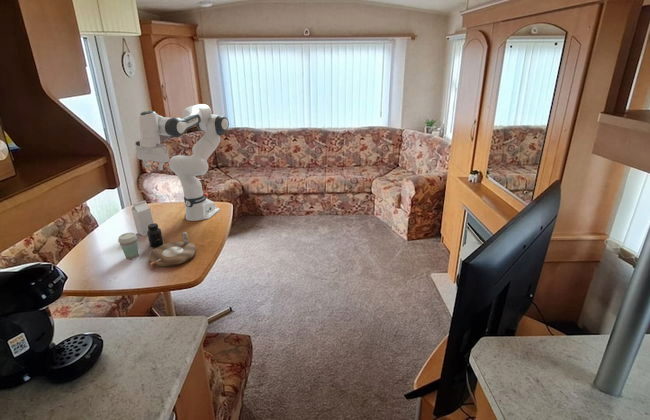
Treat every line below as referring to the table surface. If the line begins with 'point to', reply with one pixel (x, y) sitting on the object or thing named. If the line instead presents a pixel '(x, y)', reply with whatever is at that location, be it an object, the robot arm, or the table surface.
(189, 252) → the turntable
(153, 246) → the supplement bottle
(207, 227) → the table surface
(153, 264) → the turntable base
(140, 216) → the milk carton
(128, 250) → the coffee cup
